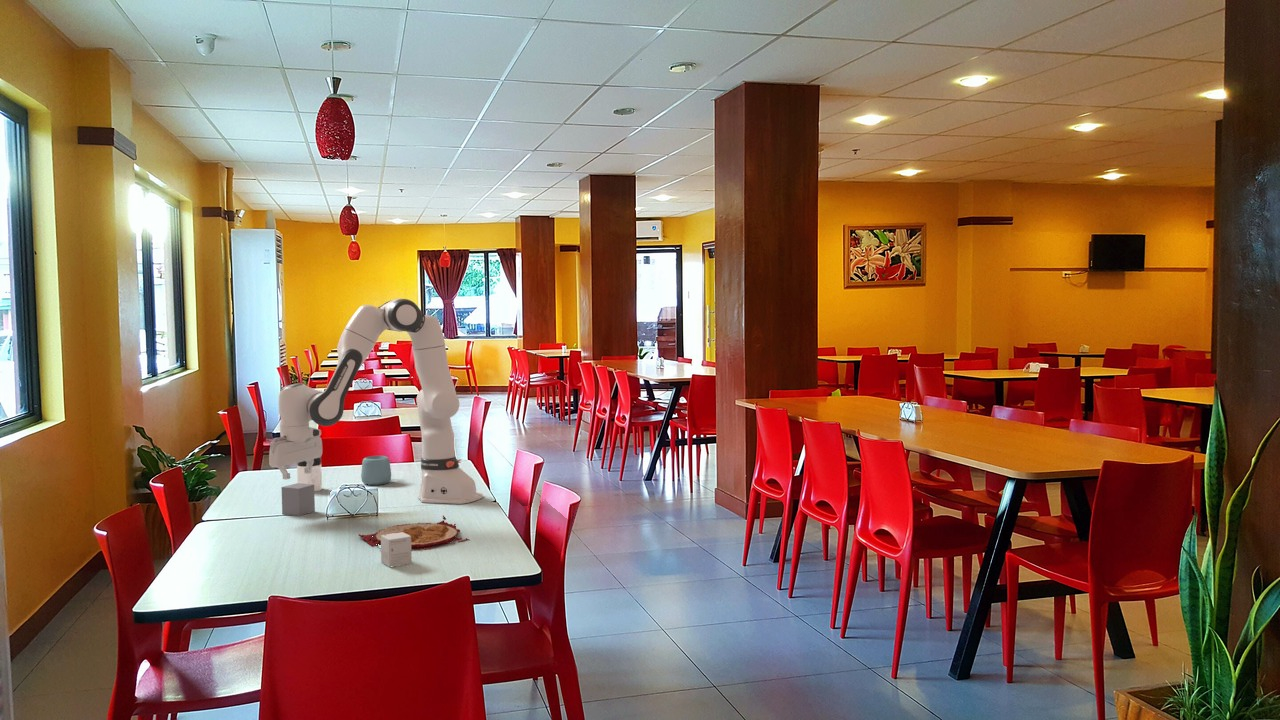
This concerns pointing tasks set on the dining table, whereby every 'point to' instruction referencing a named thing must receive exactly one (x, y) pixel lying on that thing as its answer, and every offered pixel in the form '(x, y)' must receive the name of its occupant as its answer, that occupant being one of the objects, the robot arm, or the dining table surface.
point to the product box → (396, 549)
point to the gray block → (298, 499)
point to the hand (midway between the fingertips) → (297, 476)
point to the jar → (310, 474)
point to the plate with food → (420, 534)
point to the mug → (376, 470)
